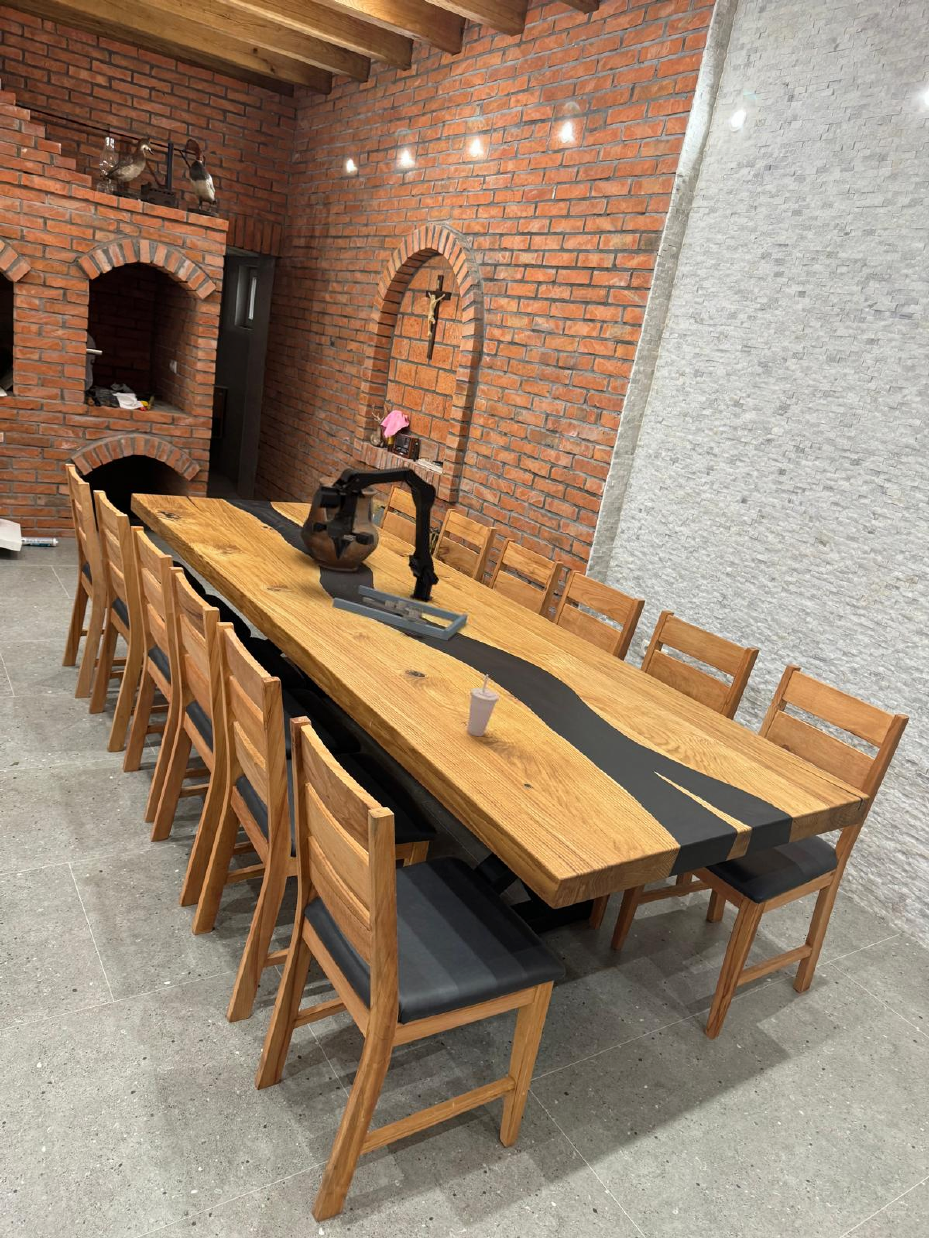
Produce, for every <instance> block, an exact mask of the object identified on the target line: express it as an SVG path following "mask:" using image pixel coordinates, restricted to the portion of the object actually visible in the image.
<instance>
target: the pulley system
mask: <svg viewBox="0 0 929 1238" xmlns="http://www.w3.org/2000/svg"><path fill="white" fill-rule="evenodd" d="M362 602H365V603H366V606H367V607H368V606H369V607H370V606H371V605H373V606H376V607H379V608H382V609H384V610H387V611H389V612H393V613H396V614H399V615H401V616H402V617H403V618H405V619H408V620H411V621H414V622H417V623H419V624H422V625H427V621H426V620H423V619H422V617H423V613H422V611H423V610H422V609H420V608H417V607H414V606H411V605H408V608H406V607H407V604H408V603H406V602H403V601H400V600H399V601H398V604H397V605H395V603H394V602H391V601H388V600H386V602H385V603H384V604H382V603H380V602H378V601H376V600H374V598H371V597H362ZM395 606H396V607H395Z"/></svg>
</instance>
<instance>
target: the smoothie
mask: <svg viewBox="0 0 929 1238" xmlns="http://www.w3.org/2000/svg"><path fill="white" fill-rule="evenodd" d="M488 679H489V674H488V673H487V674H485V677H484V681H483V684H482V686H483V687H475V688H472V689H471V691H470V693H469V696H470V704H469V712H468V713H469V715H468V722H467V723H468V725H467V732H468V733H469V734H470V735H472V736H475V737H482V736H484V735H485V731H486V728H487V727H488V723H489V722H490V720H491V719H490V718H491V716H492V714H493V711H494V708H495V706H496V703H498V701H499V698H500V697H499V694H498V693H496V692H495V691H493V690H492V689H488V688H486V686H487V683H488Z"/></svg>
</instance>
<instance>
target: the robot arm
mask: <svg viewBox="0 0 929 1238" xmlns="http://www.w3.org/2000/svg"><path fill="white" fill-rule="evenodd" d="M336 479H337V481H336V482H335V483H334V484H333V485H332V487H329V486H324V485H320V484H319V485H318V488H317V489H316V490H315V492H314V495H313V499H314V505H315V507H316V508H326V509H336V507H337V508H338V510H337V512H336V513H335V516H334V519H333V520H331V521H330V522H327V521H323V520H319V521H316V522H314V523H313V525H312V530H313V531H316V532H322V531H324V530H325V531H327V535H328V537H329V538H331V539H332V541H333V543H334V546H335V552H336V557H337V559H341V557H342V556H343V554H344V552H345V551H346V549H347V548H348V546H349V545H350V544H351V543H352V542H354V541H356V542H357V543H359V544H362V545H369V544H372V543H373V541H374V536H373V534H370V533H367V532H360V533H355V532H353V531H354V530H355V527H354V522H355V518H357V514H356V511H357V505H358V499H359V498H366V496H365V495H364V494H363V492H362V489H365V488H367V487H369V486H371V487H372V486H375V485H382V484H391V483H399V482H401V483H402V482H404V483H405V484H406V485H407V486H408V488H410V492H411V499H412V501H413V504H414V508H415V534H414V535H415V536H414V537H415V540H414V541H415V544H414V545H415V547H414V552H413V554H409V555H408V560H409V561H408V567H409V568H410V571H411V572H412V576H413V577H415V584H414V590H413V593H412V594H410V595H409V598H411V599H416V600H419V601H422V602H426V603H428V602H430V601H431V600H432V599H434V596H431V593H432V590H433V589H432V588H433V586H436V585H438V583H439V582H440V579H439V577H438V576H437V574H436V573H435V567H434V560H433V557H432V555H431V551H430V550H431V548H430V546H431V543H430V540H431V510H432V507H433V506H434V504H435V501H436V495H437V490H436V487H435V486H434V485H433V484H431V483H429V482H427V481H425V480H424V478H423V477H421V476H419V474H418V473H416V471H415V470H414V469H412V468H411V467H409V466H405V465H404V466H401V467H392V468H384V469H383V468H382V469H375V470H374V469H373V470H367V469H360V468H352V467H349V468H345V469H343V471H342V472H341V474H340V476H339V477H338V478H336ZM343 486H345V487H343Z"/></svg>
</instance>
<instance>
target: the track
mask: <svg viewBox="0 0 929 1238" xmlns="http://www.w3.org/2000/svg"><path fill="white" fill-rule="evenodd" d="M357 594H358V595H362V596H366V597H367V598H371V599H375V600H379V601H382V602H385V603H386V600H388V601H391V602H394V603H395V606H397V604H398V601H399V600H400V601H403V602H406V603H408V604H407V607H406V609H407V608H408V605H411V606H414V607H417V608H420V609H422V610H423V611H422V614H425V615H430V616H433V617H436V618H440V619H444V620H446V619H447V620H446V621H449V620H450V622H452V623H451V624H449V625H447V627H446V628H444V629H442V628H439V627H436V626H432V625H429V624H426V625H422V624H419V623H417V622H414V621H411V620H408V619H405V618H404V617H403V616H399V615H395V614H392V613H390V612H385V611H382V610H379V609H375V608H372V607H370V606H369V607H368V606H367V605H366V606H365V605H363V604H359V603H356V602H351V601H348V600H345V599H343V598H342V599H341V598H339V597H335V598H333V602H332V607H334V608H337V609H339V610H340V609H341V610H343V611H347V612H349V613H350V612H351V613H353V614H357V615H361V616H364V617H367V618H370V619H374V620H377V621H380V622H382V623H383V622H384V623H386V624H390V625H393V626H396V627H400V628H403V629H407V630H409V631H413V632H416V633H420V634H423V635H427V636H430V637H434V638H436V639H440V640H443V641H446V642H447V641H448V640H449V639H450V638H452V637H453V635H455V634H456V633H457V632H459V631H460V630H461V629H462V628H463V627H464V626H465V625H466V624H467V621H468V616H469V615H468V614H466V613H462V614H459V613H456V612H453V611H450V610H447V609H443V608H439V607H436V606H433V605H429V604H426V603H423V602H419V601H416V600H412V599H409V598H406V597H403V596H402V597H401V596H398V595H396V594H392V593H388V592H386V591H382V590H378V589H375V588H371V587H367V586H365V585H362V584H361V585H359V586H358V591H357ZM462 626H463V627H462ZM461 627H462V628H461ZM460 628H461V629H460Z"/></svg>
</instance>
